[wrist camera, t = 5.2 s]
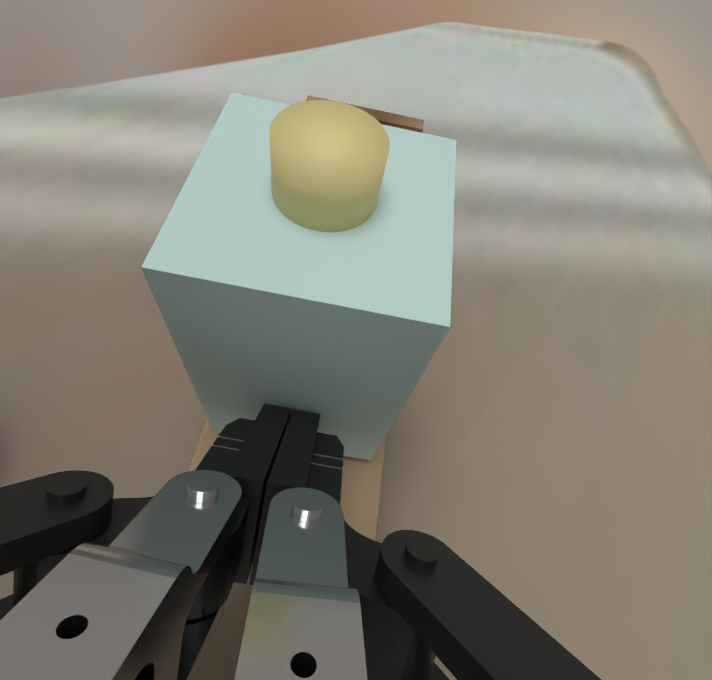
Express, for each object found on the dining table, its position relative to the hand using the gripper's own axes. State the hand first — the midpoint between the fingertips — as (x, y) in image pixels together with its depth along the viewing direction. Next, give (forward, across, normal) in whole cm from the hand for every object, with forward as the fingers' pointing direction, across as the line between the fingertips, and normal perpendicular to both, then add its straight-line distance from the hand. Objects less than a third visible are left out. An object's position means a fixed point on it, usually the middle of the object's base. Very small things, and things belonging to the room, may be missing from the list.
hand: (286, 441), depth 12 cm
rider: (+4, 0, 0) cm, 4 cm away
